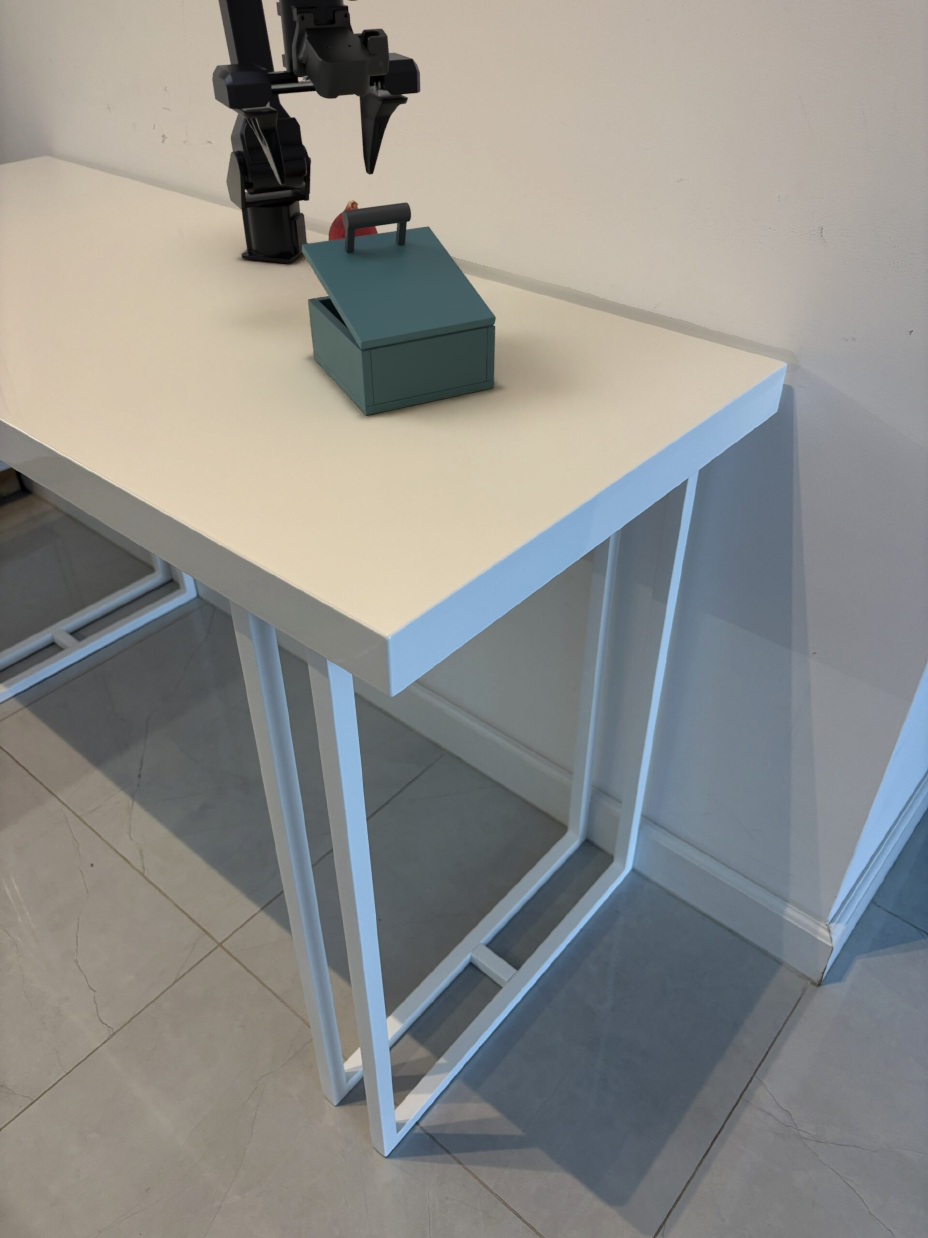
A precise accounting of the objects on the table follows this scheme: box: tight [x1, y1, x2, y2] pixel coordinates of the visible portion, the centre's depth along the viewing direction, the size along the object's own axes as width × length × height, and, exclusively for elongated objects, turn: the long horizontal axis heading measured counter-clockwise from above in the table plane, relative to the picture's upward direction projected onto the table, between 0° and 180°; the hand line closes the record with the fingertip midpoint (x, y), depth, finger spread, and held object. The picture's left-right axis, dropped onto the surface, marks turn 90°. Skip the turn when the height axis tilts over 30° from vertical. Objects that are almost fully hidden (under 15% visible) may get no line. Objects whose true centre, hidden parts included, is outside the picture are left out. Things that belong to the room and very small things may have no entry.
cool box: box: [307, 295, 496, 416], centre depth 86 cm, size 14×13×6 cm
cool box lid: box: [302, 201, 497, 350], centre depth 81 cm, size 14×13×5 cm
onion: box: [328, 199, 379, 241], centre depth 107 cm, size 6×6×8 cm
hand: (326, 178), depth 93 cm, fingers open, 9 cm apart
